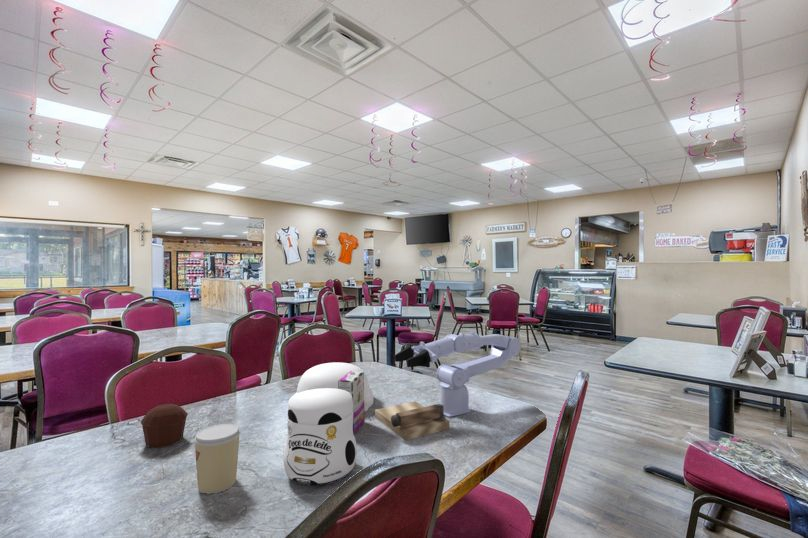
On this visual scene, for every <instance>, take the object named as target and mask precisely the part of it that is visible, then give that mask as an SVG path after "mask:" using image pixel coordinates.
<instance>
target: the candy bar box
mask: <svg viewBox="0 0 808 538" xmlns="http://www.w3.org/2000/svg"><path fill="white" fill-rule="evenodd" d="M363 371H364V370H363ZM363 371H350V372H349V373H347V374H346V375H345V376H344V377H342V378H341V379H340V380H338V389H341V390H345V391H347V392H350V394H351V395H352V399H353V433H354V435H355V434H356V433H357V431H358V430H359V428H360V427H361V426H362V425H363V423H364V422H365V411H364V373H365V371H364V372H363Z"/></svg>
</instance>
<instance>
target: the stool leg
mask: <svg viewBox="0 0 808 538" xmlns="http://www.w3.org/2000/svg"><path fill="white" fill-rule="evenodd" d="M443 416H445V415H444V406H443V405H441V403H436V404H433V405H427V406H425V407H422V408H418V409H413V410H408V411H404V412H399V413H396V415H392V417H391V423H392V425H393V427H397V426H400V427H403V426H407V425H411V424H415V423H419V422H424V421H428V420H432V419H436V418H440V417H443Z"/></svg>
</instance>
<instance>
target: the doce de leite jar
mask: <svg viewBox="0 0 808 538" xmlns="http://www.w3.org/2000/svg"><path fill="white" fill-rule="evenodd" d="M294 394H295V393H294ZM294 394H293V395H292V396H291V397H290V398H289V399H288V402H287V418H286V419H287V423H286V424H287V437H286V438H287V439H286V441H285V447H284V450H283V457H282V458H283V459H282V461H283V468H284V471H285V473H286V476H287V477H288V478H289V479H290V480H291V481H292V482H295V483H297V484H299V485H303V486H311V487H315V486H317V487H318V486H325V485H329V484H331V483H335V482H338V481H339V480H341V479H343V478H345V477H346V476H348V475H349V473H351V471H352V470H353V469H354V467H355V465H356V460H357V454H358V451H357V450H358V449H357V448H358V447H357V441H356V437H355V434H354V433H353V399H352V395H351V394H350V392H347V391H345V390H341V389H335V388H320V389H312V390H306V391H303V392H300V393H297V394H295V395H294Z"/></svg>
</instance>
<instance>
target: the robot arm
mask: <svg viewBox="0 0 808 538" xmlns="http://www.w3.org/2000/svg"><path fill="white" fill-rule="evenodd" d="M481 346H491V348H490V352H489V353H490V355H489V354H488V355H486V356H483V357H478V358H477V359H473V360H470V361H467V362H463V363H461V364H460V363H458V364H456V363H455V364H453V363H452V364H451V363H450V364H446V363H443V364H440V365H439V366H438V368H437V369H436V374H435V375H436V379H437V380H438V381H439V385H440V404H441V405H443V406H444V416H445V417H446V418H447V417H448V418H451V417H454V416H455V417H456V416H459V415H463V414H467V413H471V410H470V409H469V394H470V393H469V390H468V388H467V386H466V385H465V384H466V383H469V382H470V379H471V378H472V377H476V376H478V375H481V374H485V373H487V372H490V371H493V370H497V369H499V368H501V367H504V366H505V365H506V364H507V363H508V362H509V361H510V360H511V359H512V358H514V357H516V356H517V357H518V355H519V354H520V350H521V348H522V347H521V346H522V343H521V340H520V339H519V338H518V337H516V336H515V337H514V336H513V337H512V336H508V335H502V334H501V333H500V334H499V333H492V334H487V335H479V334H478V333H476V332H474V331H469V333H465V334H464V333H463V332H460V333H459V334H458V335H457V334H454V333H451V334H450V333H448V334H447V335H446V336H445V337H444V338H440V339H437V340H434V341H430V342H427V343H425V342H424V341H419V344H418V345H417V346H416V345H415V346H412V344H410V343H409V344H407V345H405V347H404V348H403V349H402V350H401V351H399V352H397V353H396V354H394V362H397V363H398V362H404V361H406V367H407V368H416V367H425V368H430V367H431V363H432V364H433V363H435V362H438V359H439V358H442V357H445V356H448V355H451V354H454V353H455V352H456V353H460V354H463V353H465V351H472V350H474V351H475V350H479V349H480V347H481Z"/></svg>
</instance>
